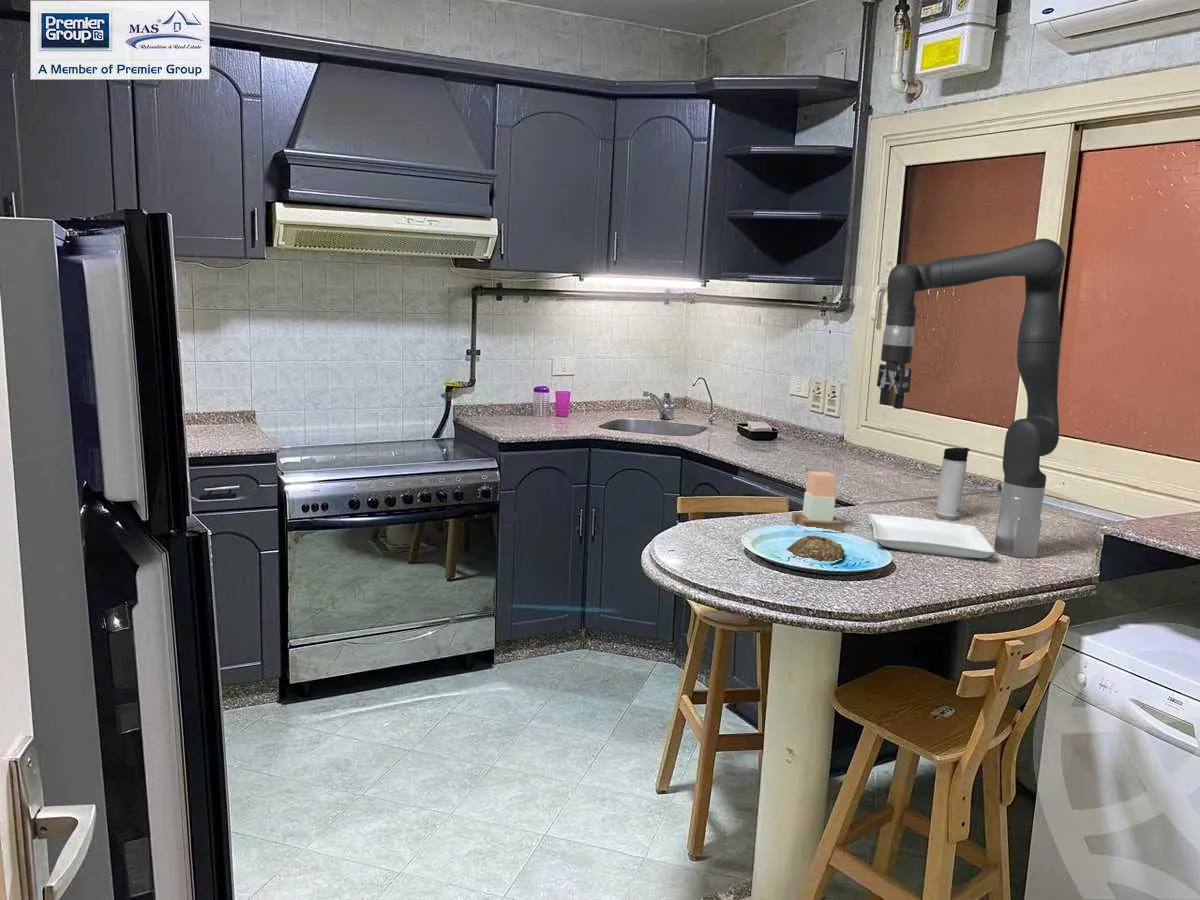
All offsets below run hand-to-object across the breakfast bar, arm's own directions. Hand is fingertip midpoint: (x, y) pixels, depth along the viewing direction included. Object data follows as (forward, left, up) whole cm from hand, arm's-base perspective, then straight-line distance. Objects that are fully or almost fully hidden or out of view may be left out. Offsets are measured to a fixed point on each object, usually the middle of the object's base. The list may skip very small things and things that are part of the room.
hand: (890, 406), depth 242 cm
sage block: (-4, +18, -29) cm, 34 cm away
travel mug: (+12, -26, -32) cm, 43 cm away
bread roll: (-30, +27, -32) cm, 52 cm away
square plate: (-16, -6, -32) cm, 37 cm away
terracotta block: (-4, +18, -23) cm, 29 cm away
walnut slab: (-4, +18, -32) cm, 37 cm away
